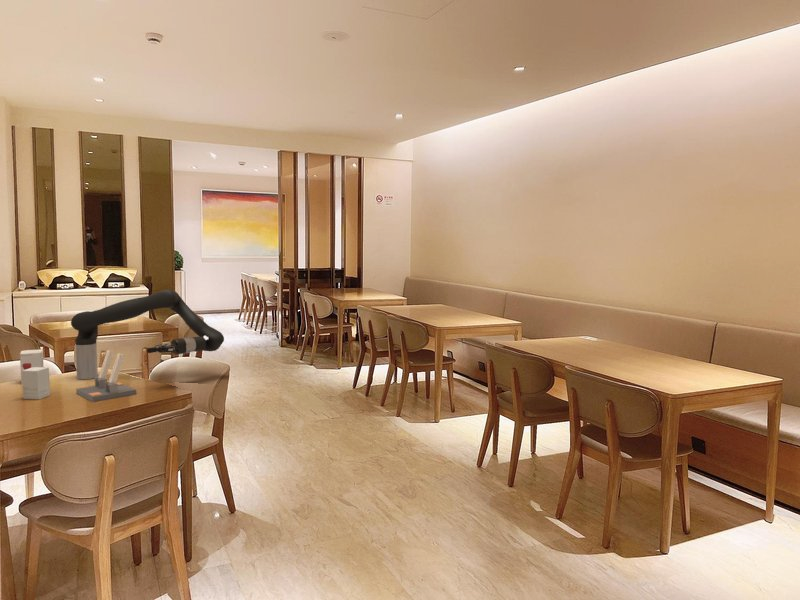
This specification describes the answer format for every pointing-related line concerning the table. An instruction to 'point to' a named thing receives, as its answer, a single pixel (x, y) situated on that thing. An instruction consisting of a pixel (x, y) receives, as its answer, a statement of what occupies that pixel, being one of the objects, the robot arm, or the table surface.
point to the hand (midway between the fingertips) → (147, 350)
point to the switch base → (105, 391)
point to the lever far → (105, 365)
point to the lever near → (116, 369)
